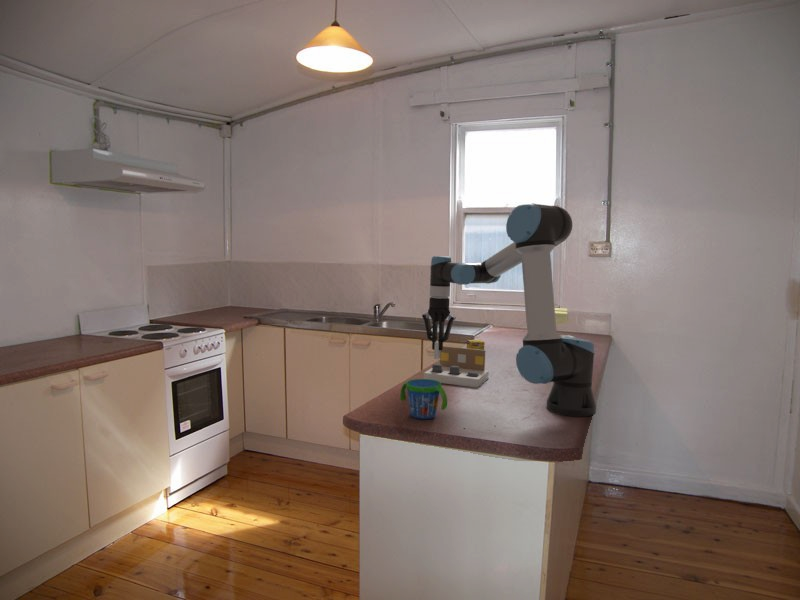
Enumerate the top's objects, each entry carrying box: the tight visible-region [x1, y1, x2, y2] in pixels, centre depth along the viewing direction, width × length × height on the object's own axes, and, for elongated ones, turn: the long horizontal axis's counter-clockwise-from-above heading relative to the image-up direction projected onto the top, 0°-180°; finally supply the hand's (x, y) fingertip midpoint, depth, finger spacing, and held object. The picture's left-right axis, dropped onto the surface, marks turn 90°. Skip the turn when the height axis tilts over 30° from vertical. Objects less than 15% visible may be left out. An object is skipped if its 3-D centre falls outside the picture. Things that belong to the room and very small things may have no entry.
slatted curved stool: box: [555, 307, 569, 324], centre depth 298 cm, size 30×16×18 cm, turn 164°
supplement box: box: [466, 339, 485, 350], centre depth 236 cm, size 6×6×11 cm
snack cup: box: [399, 378, 448, 420], centre depth 165 cm, size 16×10×10 cm
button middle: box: [450, 366, 460, 375], centre depth 209 cm, size 4×4×4 cm
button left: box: [431, 363, 442, 373], centre depth 211 cm, size 4×4×4 cm
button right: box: [468, 372, 478, 377], centre depth 206 cm, size 4×4×4 cm
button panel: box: [423, 345, 490, 388], centre depth 211 cm, size 16×21×11 cm
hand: (436, 358), depth 211 cm, fingers closed
